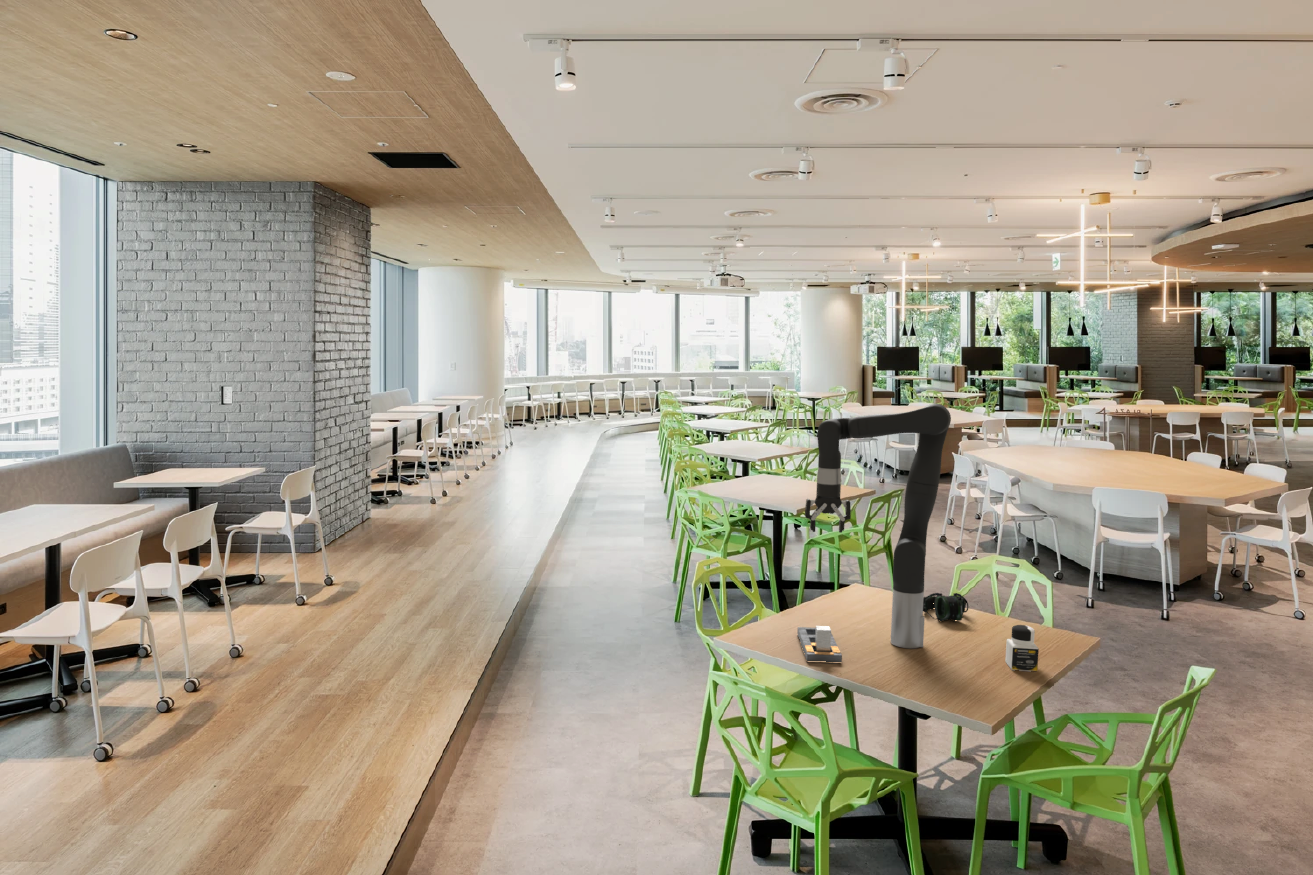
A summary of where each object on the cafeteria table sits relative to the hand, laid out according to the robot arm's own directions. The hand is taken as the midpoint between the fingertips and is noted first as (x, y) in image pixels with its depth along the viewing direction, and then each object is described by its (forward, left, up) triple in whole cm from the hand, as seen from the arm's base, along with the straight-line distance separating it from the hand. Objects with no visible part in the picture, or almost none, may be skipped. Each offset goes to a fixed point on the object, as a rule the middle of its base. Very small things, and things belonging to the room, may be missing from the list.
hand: (826, 531), depth 273 cm
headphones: (-45, -21, -33) cm, 60 cm away
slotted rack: (+4, +16, -33) cm, 37 cm away
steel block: (+4, +24, -33) cm, 41 cm away
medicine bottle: (-53, +26, -33) cm, 68 cm away
